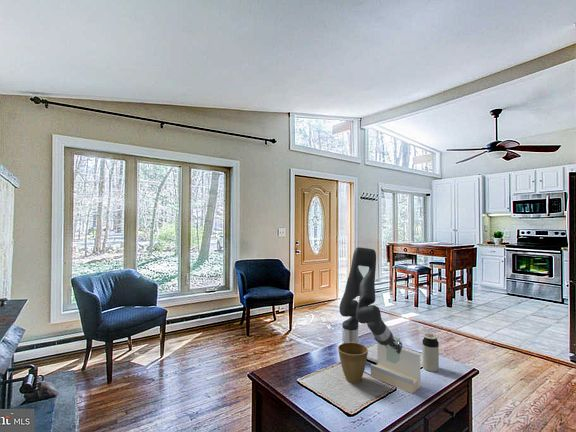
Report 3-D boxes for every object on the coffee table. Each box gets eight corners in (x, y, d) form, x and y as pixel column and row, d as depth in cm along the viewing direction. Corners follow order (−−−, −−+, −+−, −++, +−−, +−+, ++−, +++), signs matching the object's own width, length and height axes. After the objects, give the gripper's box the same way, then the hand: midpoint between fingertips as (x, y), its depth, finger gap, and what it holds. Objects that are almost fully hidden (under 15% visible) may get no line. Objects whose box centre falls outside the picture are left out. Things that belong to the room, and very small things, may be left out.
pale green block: (395, 363, 149) (395, 341, 148) (386, 360, 152) (386, 338, 152) (399, 360, 152) (399, 338, 151) (391, 357, 155) (391, 335, 155)
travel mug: (421, 369, 168) (421, 336, 168) (424, 363, 174) (424, 331, 174) (437, 373, 163) (437, 339, 163) (439, 367, 170) (439, 334, 170)
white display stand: (412, 393, 146) (412, 359, 145) (370, 376, 162) (370, 345, 161) (420, 386, 152) (420, 353, 152) (379, 369, 168) (379, 340, 168)
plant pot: (368, 373, 164) (368, 343, 164) (367, 389, 149) (367, 356, 149) (339, 370, 168) (339, 340, 168) (336, 385, 153) (336, 352, 153)
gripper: (399, 330, 141) (411, 348, 149) (371, 321, 151) (384, 338, 160) (393, 345, 137) (405, 362, 146) (365, 335, 148) (378, 352, 156)
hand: (394, 350), depth 153 cm, fingers closed on pale green block, 4 cm apart
